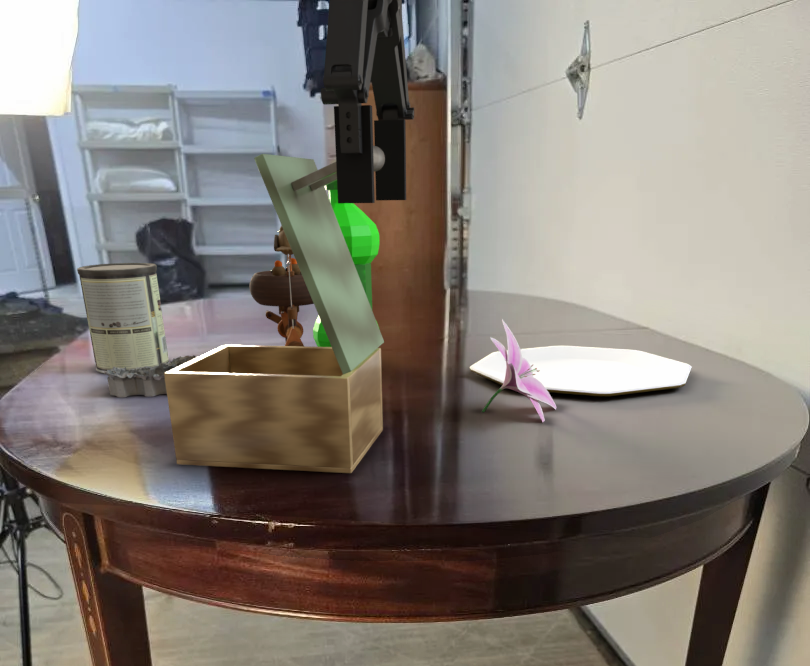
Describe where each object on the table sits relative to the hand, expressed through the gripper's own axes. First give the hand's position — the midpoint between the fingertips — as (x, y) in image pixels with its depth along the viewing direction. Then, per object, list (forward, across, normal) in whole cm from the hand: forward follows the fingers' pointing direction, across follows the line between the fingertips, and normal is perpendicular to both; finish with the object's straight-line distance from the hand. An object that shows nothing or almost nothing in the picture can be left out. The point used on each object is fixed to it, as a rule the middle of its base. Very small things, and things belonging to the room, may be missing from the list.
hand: (375, 202), depth 65 cm
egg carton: (+22, +20, +34) cm, 45 cm away
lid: (+5, 0, +5) cm, 7 cm away
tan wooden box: (+22, 0, +10) cm, 24 cm away
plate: (+22, +36, -19) cm, 47 cm away
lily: (+22, +15, -12) cm, 30 cm away
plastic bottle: (+22, +44, +15) cm, 51 cm away
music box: (+22, +27, +18) cm, 39 cm away
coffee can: (+22, +33, +44) cm, 59 cm away
